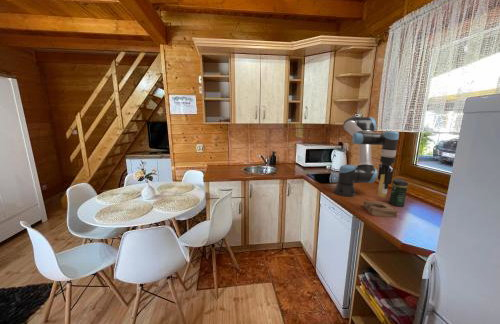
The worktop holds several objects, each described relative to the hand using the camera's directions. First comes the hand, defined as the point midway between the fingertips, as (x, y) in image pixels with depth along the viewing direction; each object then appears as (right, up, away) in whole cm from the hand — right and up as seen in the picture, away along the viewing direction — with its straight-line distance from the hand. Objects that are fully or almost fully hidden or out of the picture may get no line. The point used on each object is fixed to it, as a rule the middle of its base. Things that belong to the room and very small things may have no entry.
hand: (382, 192), depth 133 cm
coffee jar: (+21, -11, +16) cm, 29 cm away
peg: (0, -3, +1) cm, 3 cm away
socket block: (0, -13, +3) cm, 14 cm away
